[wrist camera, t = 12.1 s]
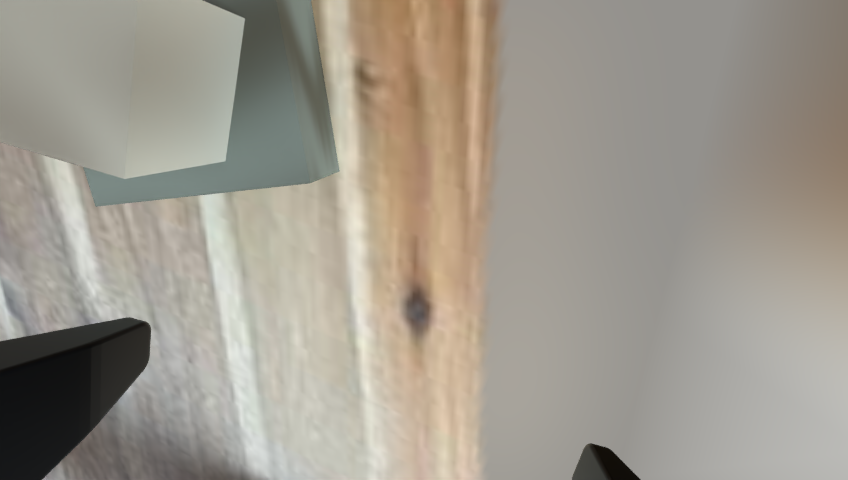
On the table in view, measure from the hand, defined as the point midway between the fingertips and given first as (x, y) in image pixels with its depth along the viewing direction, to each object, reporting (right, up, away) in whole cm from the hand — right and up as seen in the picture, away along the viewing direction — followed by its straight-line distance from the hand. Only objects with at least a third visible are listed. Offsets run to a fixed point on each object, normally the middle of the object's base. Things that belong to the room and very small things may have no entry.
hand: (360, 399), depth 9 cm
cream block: (-8, +9, +7) cm, 14 cm away
